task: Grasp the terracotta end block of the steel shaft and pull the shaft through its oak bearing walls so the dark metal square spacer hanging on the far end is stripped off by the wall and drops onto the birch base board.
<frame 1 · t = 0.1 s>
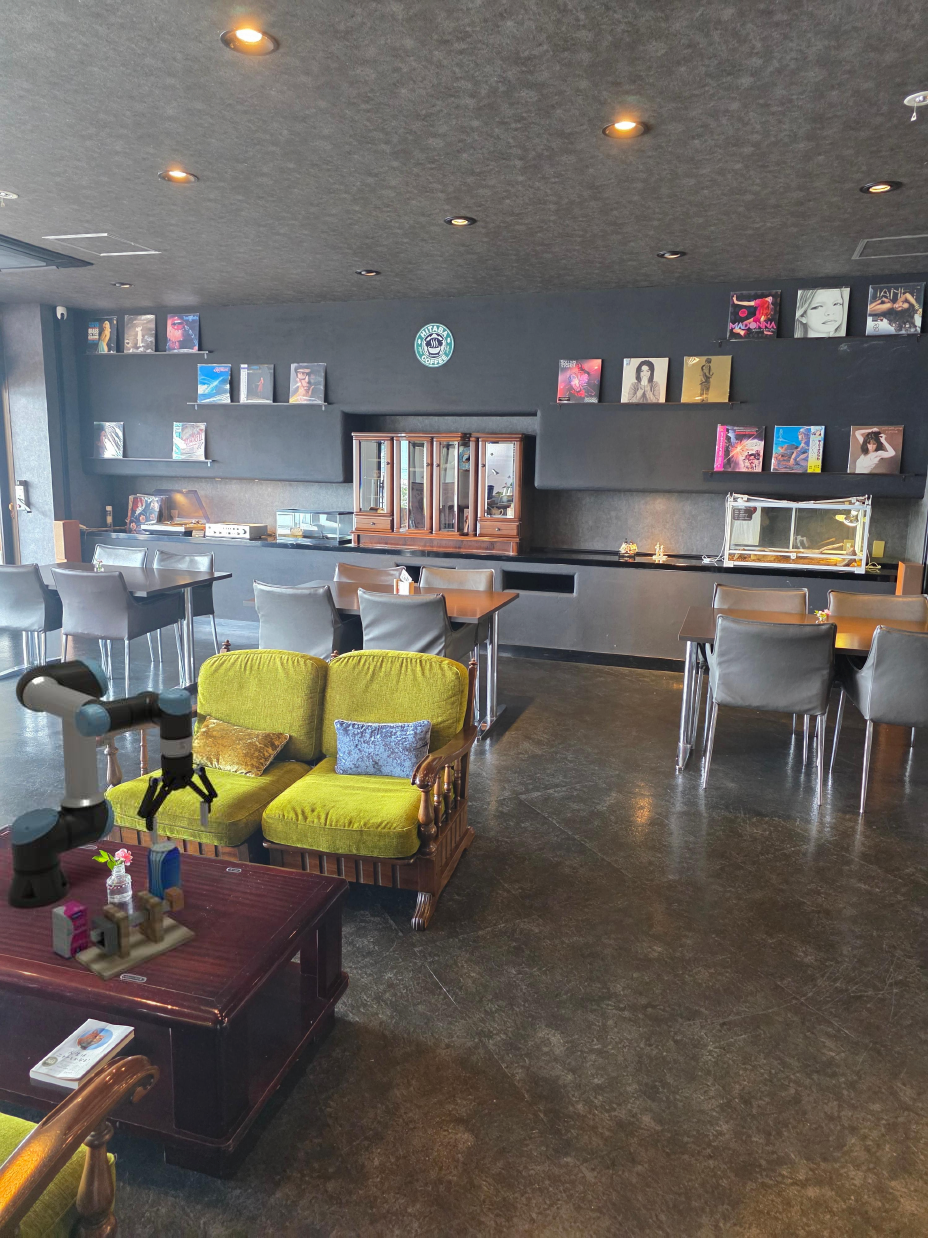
hand: (179, 834, 204), 28 cm above the table, fingers open, 13 cm apart
spacer: (105, 949, 196), point 3 cm above the table, touching shaft
shaft: (137, 914, 202), point 9 cm above the table, slide at 0.0 cm, touching spacer
bearing stand: (129, 951, 201), on the table
supplement box: (71, 952, 201), on the table
beer can: (165, 900, 227), on the table
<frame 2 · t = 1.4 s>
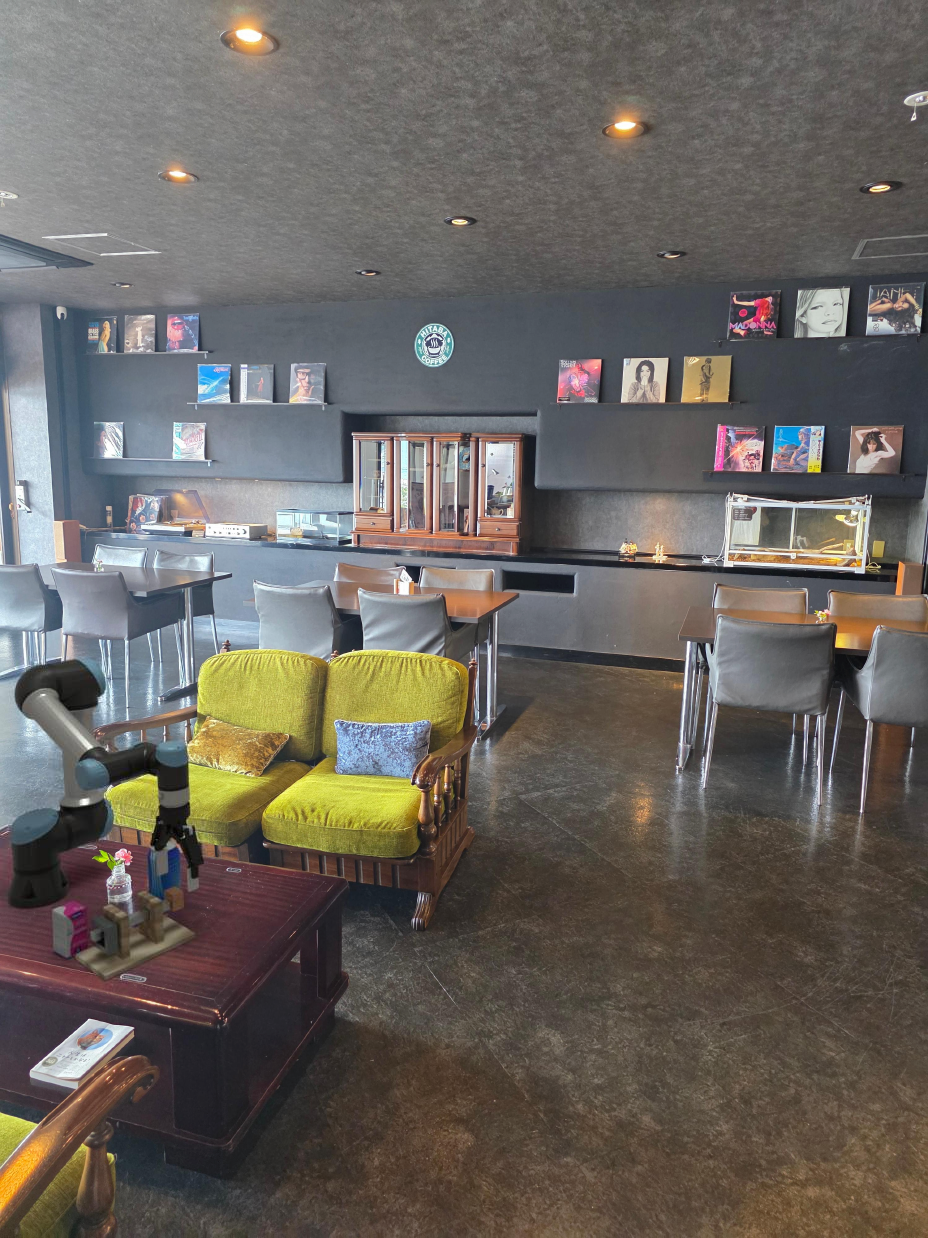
hand: (177, 881, 210), 13 cm above the table, fingers open, 13 cm apart
nothing on the table moved.
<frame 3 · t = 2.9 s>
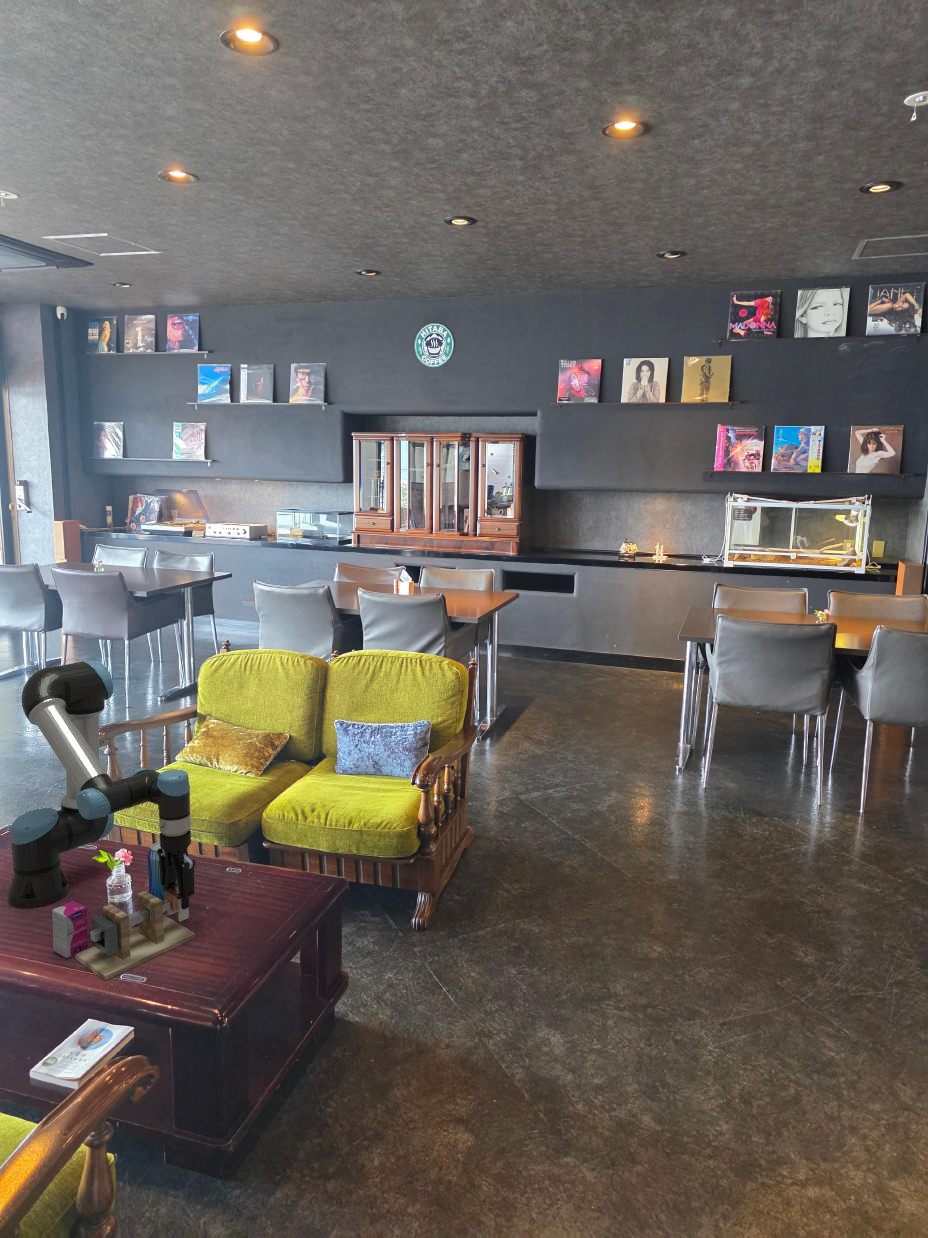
hand: (178, 916, 212), 4 cm above the table, fingers closed on shaft, 4 cm apart
shaft: (137, 914, 202), point 9 cm above the table, slide at 0.0 cm, touching gripper, spacer
everything else where it was.
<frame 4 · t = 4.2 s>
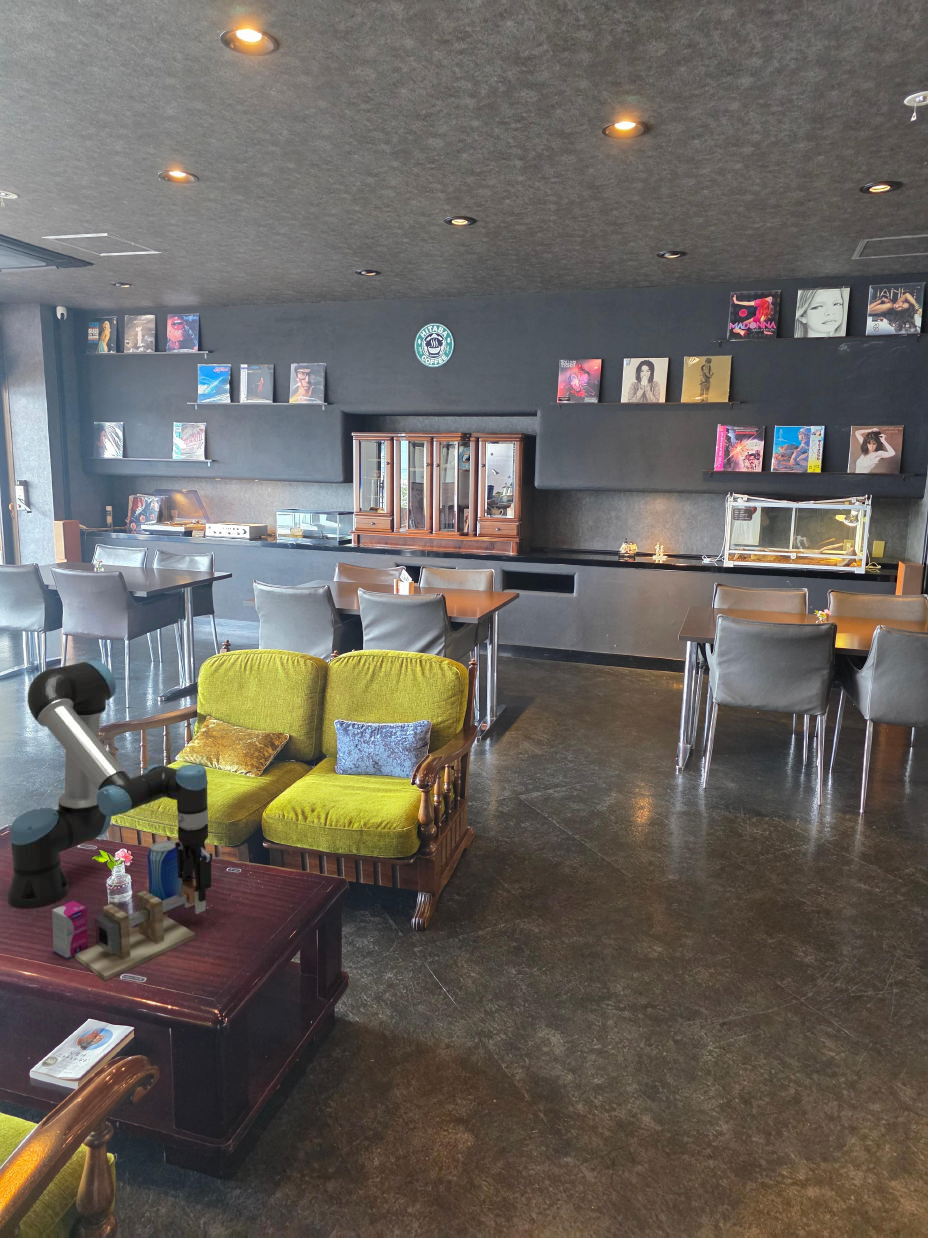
hand: (195, 908, 216), 4 cm above the table, fingers closed on shaft, 4 cm apart
spacer: (108, 947, 197), point 4 cm above the table
shaft: (155, 907, 206), point 9 cm above the table, slide at 4.9 cm, touching gripper
everything else where it was.
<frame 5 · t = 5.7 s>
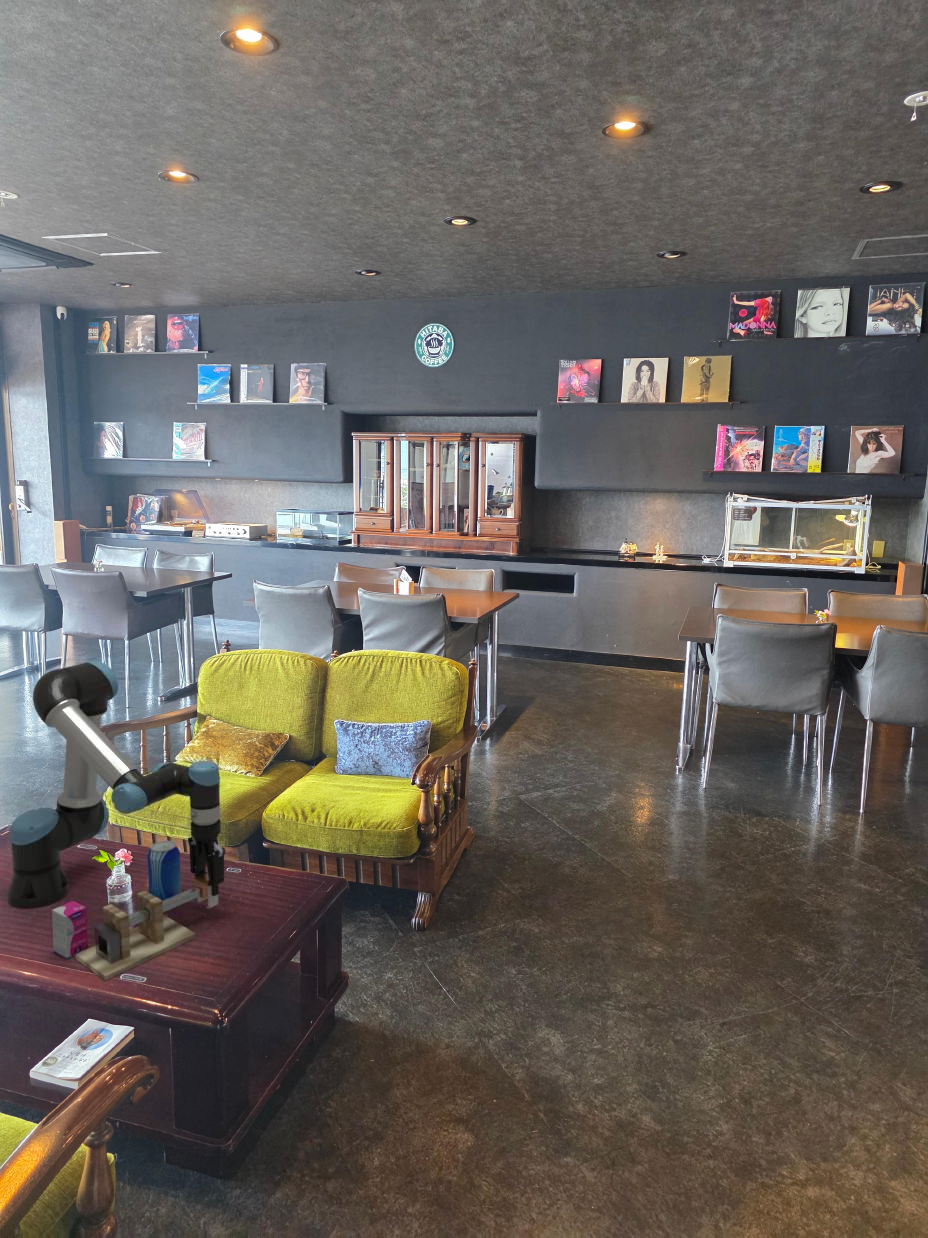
hand: (207, 902, 219), 4 cm above the table, fingers closed on shaft, 4 cm apart
spacer: (108, 956, 197), point 1 cm above the table, touching bearing stand
shaft: (169, 901, 209), point 9 cm above the table, slide at 8.8 cm, touching gripper
everything else where it was.
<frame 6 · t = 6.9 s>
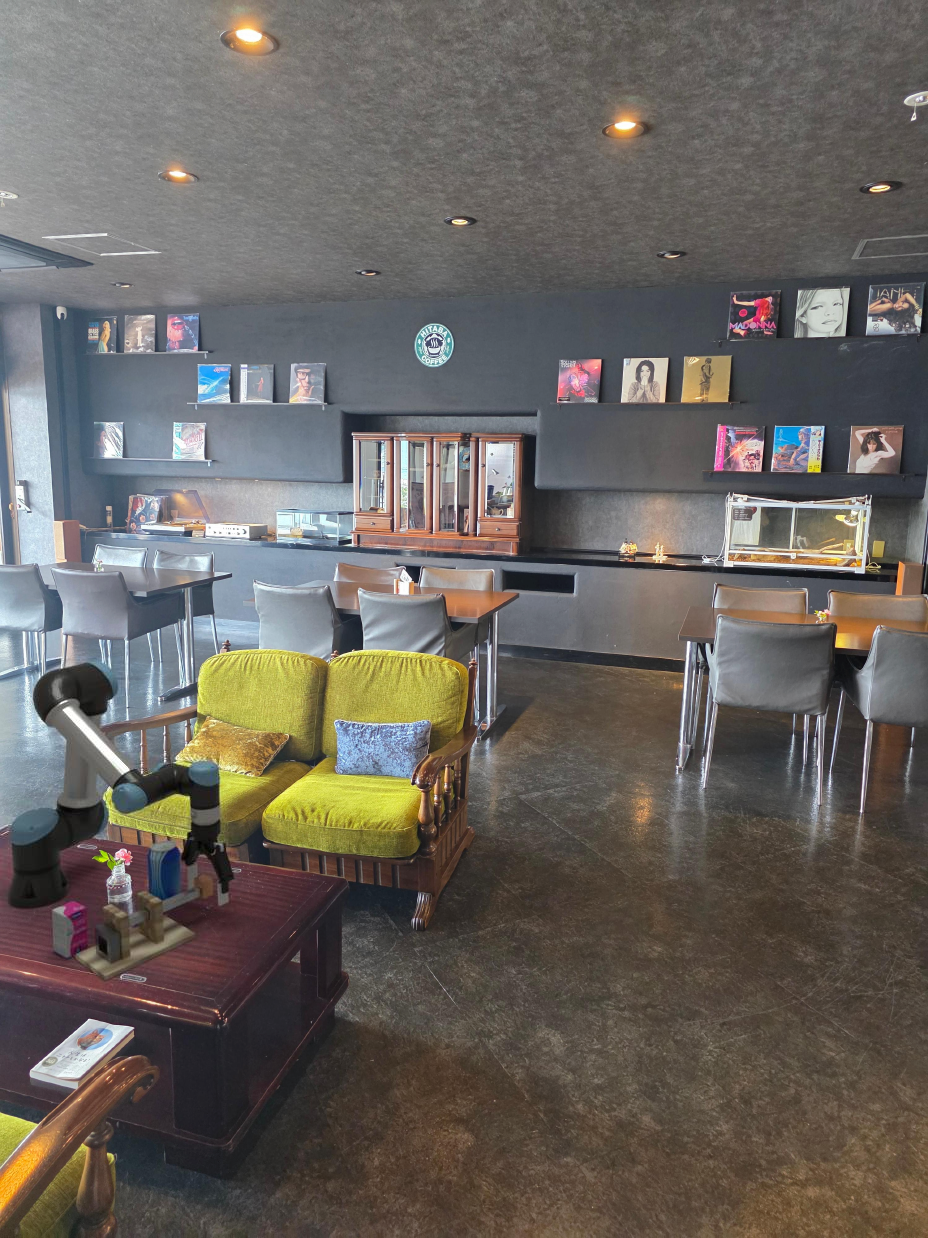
hand: (207, 895, 218), 6 cm above the table, fingers open, 13 cm apart
shaft: (169, 901, 209), point 9 cm above the table, slide at 8.8 cm
everything else where it was.
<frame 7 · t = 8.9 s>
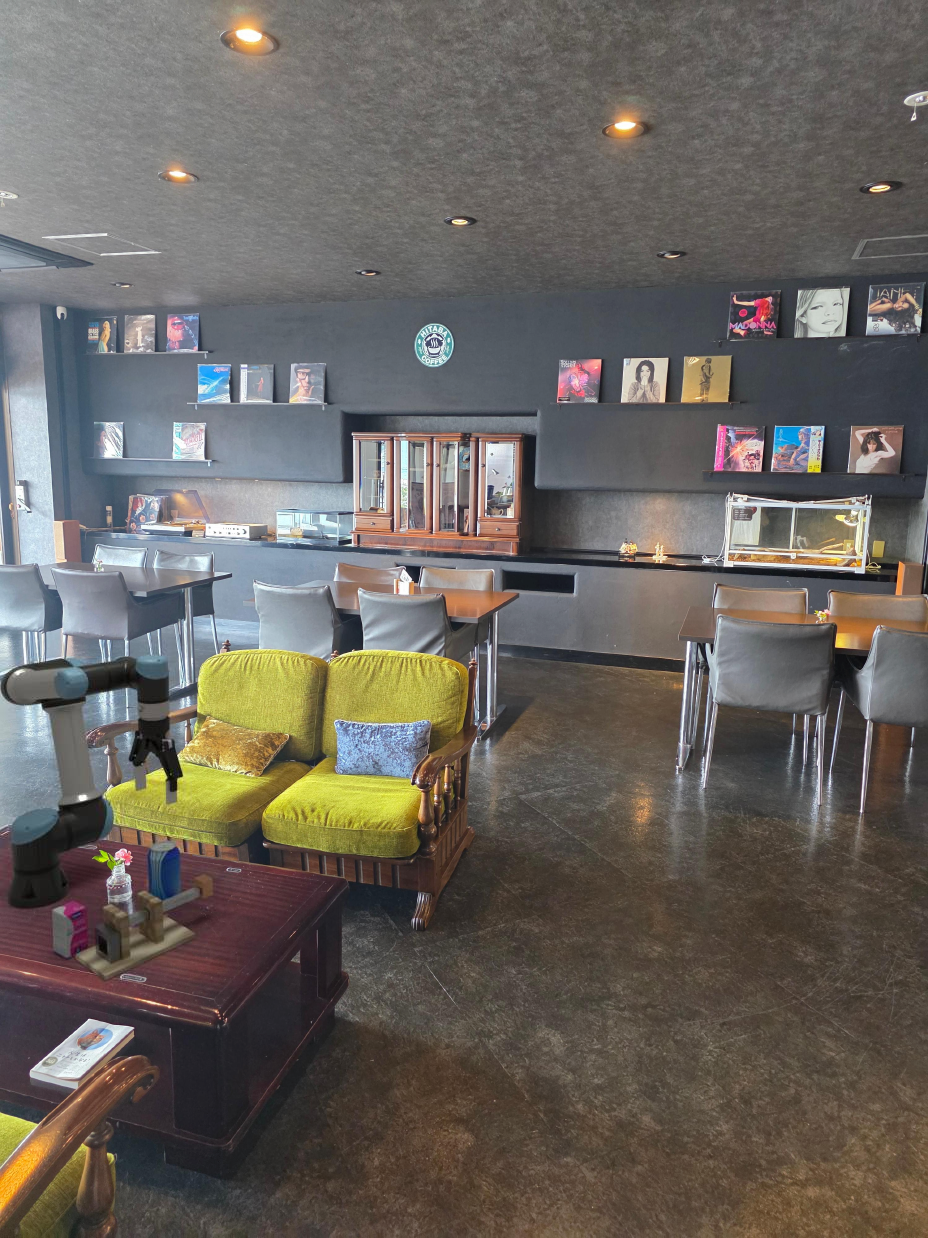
hand: (156, 796, 210), 35 cm above the table, fingers open, 13 cm apart
nothing on the table moved.
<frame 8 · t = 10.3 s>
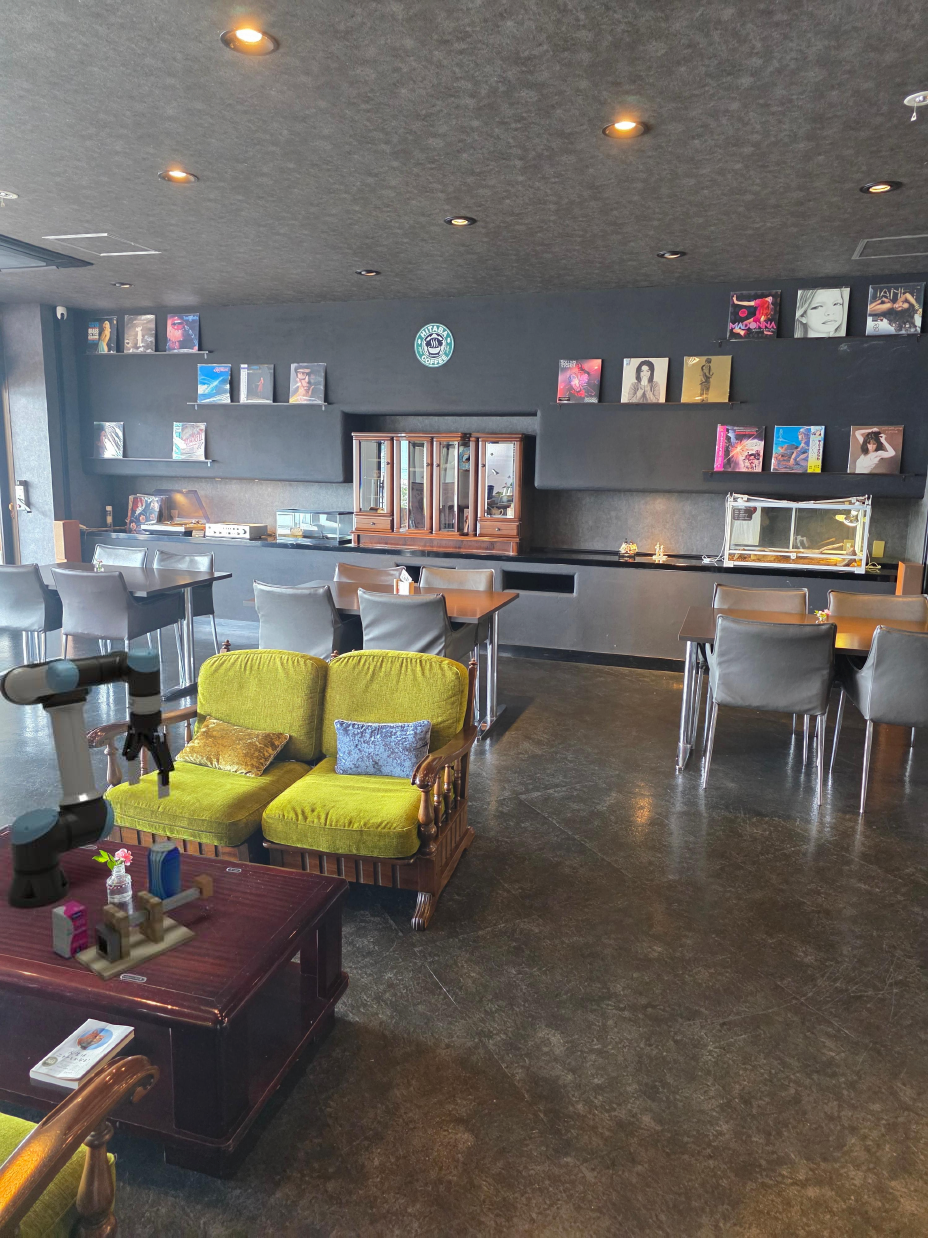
hand: (148, 790, 209), 37 cm above the table, fingers open, 13 cm apart
nothing on the table moved.
at the end: spacer touching bearing stand; spacer point 1.2 cm above the table; shaft slide at 8.8 cm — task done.
